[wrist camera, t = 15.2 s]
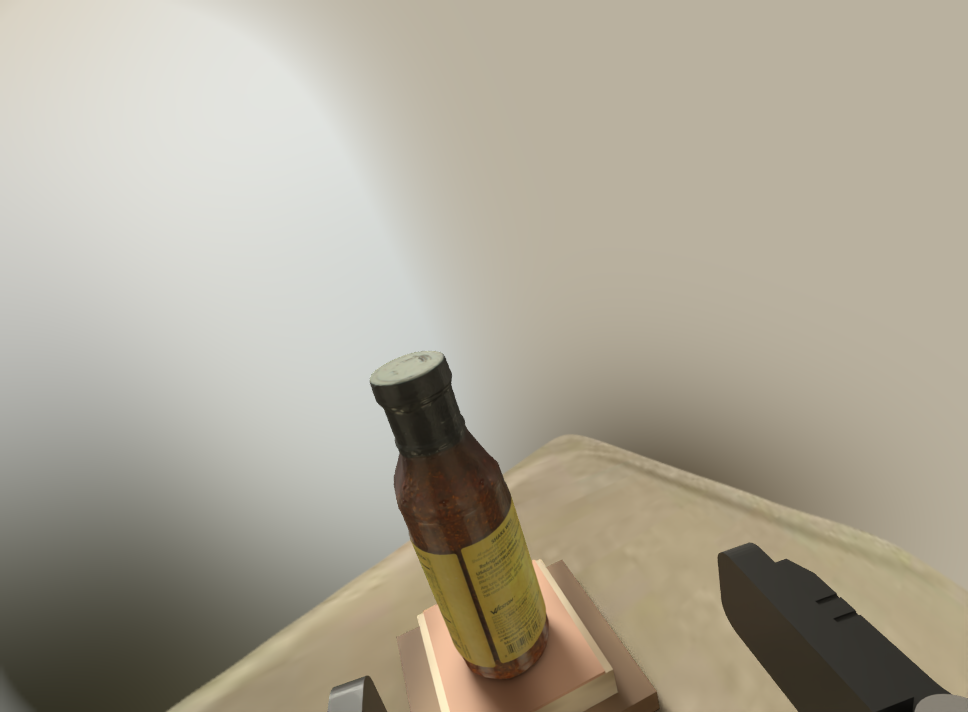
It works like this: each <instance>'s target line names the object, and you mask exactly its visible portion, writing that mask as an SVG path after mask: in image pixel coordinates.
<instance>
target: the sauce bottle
mask: <svg viewBox="0 0 968 712" xmlns="http://www.w3.org/2000/svg"><path fill="white" fill-rule="evenodd" d="M451 379H452V373H451V371H450V369H449V365H448V363H447V361H446V358H445V356H444V355H443V354H442V353H441V352H436V351H421V352H414V353H411V354H407V355H404V356H402V357H399V358H397V359H394V360H392V361H390V362H389V363H386V364H385V365H383V366H381V367H380V368H379V369H377V370H375V372H374V373H373V374H372V375H371V377H370V384H371V387H372V391H373V394H374V396H375V399H376V401H377V403H378V404H379V405H380V406H382V407H383V409H384V410H385V413H386V415H387V418H388V421H389V423H390V426H391V429H392V432H393V434H394V436H395V443H396V446H397V448H398V449H399V452H400V454H399V458H398V462H397V466H396V470H395V475H394V488H395V494H396V499H397V504H398V507H399V509H400V511H401V513H402V515H403V517H404V520H405V522H406V525H407V527H408V530H409V536H410V540H411V542H412V544H413V547H414V549H415V551H416V554H417V556H418V558H419V561H420V563H421V566H422V568H423V571H424V573H425V575H426V578H427V580H428V583H429V585H430V588H431V590H432V592H433V595H434V597H435V599H436V602H437V604H438V607H439V609H440V612H441V614H442V617H443V619H444V622H445V624H446V626H447V629H448V631H449V634H450V636H451V639H452V642H453V644H454V646H455V648H456V649H457V651H458V652H459V653H460V655H461V656H462V657H463V659H464V661H465V662H466V664H467V666H468V668H469V669H470V670H471V671H472V672H474V673H475V674H477V675H480V676H482V677H485V678H492V679H503V680H505V679H511V678H513V677H517V676H518V675H521V674H522V673H524V672H526V671H527V670H528V669H529V668H530V667H532V666H533V665H534V664H536V663H537V661H538V660H539V658H540V657H541V656H542V655H543V652H544V650H545V648H546V646H547V641H548V636H549V620H548V617H547V614H546V606H545V602H544V599H543V596H542V592H541V589H540V586H539V583H538V579H537V576H536V573H535V570H534V567H533V564H532V561H531V558H530V555H529V551H528V548H527V545H526V542H525V538H524V535H523V532H522V529H521V526H520V522H519V519H518V516H517V513H516V510H515V507H514V503H513V500H512V497H511V494H510V491H509V489H508V487H507V484H506V482H505V481H504V478H503V475H502V473H501V470H500V467H499V465H498V462H497V461H496V460H494V459H493V457H491V456H490V455H489V454H488V453H487V452H486V451H485V449H484V448H483V447H482V446H481V445H480V444H479V443H478V441H476V439H475V438H474V437H473V435H472V434H471V433H470V432H469V431H468V429H467V427H466V426H465V420H464V418H463V416H462V415H461V414H460V411H459V407H458V405H457V402H456V399H455V395H454V392H453V390H452V386H451Z"/></svg>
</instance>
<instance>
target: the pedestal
mask: <svg viewBox="0 0 968 712" xmlns="http://www.w3.org/2000/svg"><path fill="white" fill-rule="evenodd" d="M532 564H533V567H534V570H535V573H536V576H537V579H538V583H539V586H540V589H541V592H542V596H543V599H544V602H545V606H546V614H547V617H548V620H549V636H548V641H547V646H546V648H545V650H544V652H543V655H542V656H541V657H540V658H539V660H538V661H537V663H536V664H534V665H533V666H532V667H530V668H529V669H528V670H527V671H526V672H524V673H522V674H521V675H518V676H517V677H513V678H511V679H505V680H503V679H492V678H485V677H482V676H480V675H477V674H475V673H474V672H472V671H471V670H470V669H469V668H468V666H467V664H466V662H465V661H464V659H463V657H462V656H461V655H460V653H459V652H458V651H457V649H456V648H455V646H454V644H453V642H452V639H451V636H450V634H449V631H448V629H447V626H446V624H445V622H444V619H443V617H442V614H441V612H440V609H439V607H438V604H437V605H434V606H432V607H430V608H428V609H426V610H424V611H423V613H422V614H420V615H418V616H417V618H418V622H419V627H417V628H415V629H413V630H411V631H409V632H406V633H404V634H402V635H400V636H398V637H396V638H397V643H398V649H399V654H400V659H401V664H402V670H403V675H404V680H405V685H406V691H407V696H408V701H409V706H410V712H654V711H656V710H658V709H659V702H658V696H657V691H656V690H655V688H654V687H653V686H652V684H651V683H650V681H649V680H648V679H647V677H646V676H645V674H644V673H643V672H642V670H641V669H640V667H639V666H638V665H637V663H636V662H635V660H634V659H633V658H632V656H631V655H630V654H629V652H628V651H627V649H626V648H625V647H624V645H623V644H622V642H621V641H620V640H619V638H618V637H617V635H616V634H615V633H614V631H613V630H612V628H611V627H610V626H609V624H608V623H607V621H606V620H605V619H604V617H603V616H602V615H601V613H600V612H599V610H598V609H597V608H596V606H595V605H594V603H593V602H592V601H591V599H590V598H589V596H588V595H587V594H586V592H585V591H584V589H583V588H582V587H581V585H580V584H579V582H578V581H577V580H576V578H575V577H574V576H573V574H572V573H571V571H570V570H569V569H568V567H567V566H566V564H565V563H564V562H563V560H560V561H558V562H556V563H554V564H552V565H550V566H548V567H546V566H545V565H544V563H543V562H542V560H541V559H539V560H537V561H535V560H532Z"/></svg>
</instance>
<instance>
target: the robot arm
mask: <svg viewBox="0 0 968 712" xmlns="http://www.w3.org/2000/svg"><path fill="white" fill-rule="evenodd" d="M718 569H719V579H720V590H721V600H722V605H723V608H724V611H725V614H726V616H727V618H728V620H729V622H730V624H731V625H732V627H733V628H734V630H735V631H736V633H737V634H738V635H739V637H740V638H741V639H742V640H743V642H744V643H745V644H746V645H747V647H748V648H749V649H750V651H751V652H752V653H753V654H754V656H755V657H756V658H757V660H758V661H759V662H760V663H761V665H762V666H763V667H764V668H765V670H766V671H767V672H768V674H769V675H770V676H771V677H772V679H773V680H774V681H775V682H776V684H777V685H778V686H779V688H780V689H781V690H782V691H783V693H784V694H785V695H786V696H787V698H788V699H789V700H790V702H791V703H792V704H793V705H794V707H795V708H796V709H797V711H798V712H968V698H964V697H961V696H957V695H952V694H951V693H949V692H948V691H946V690H945V689H943V688H942V687H941V686H939V685H938V684H937V683H936V682H935V681H933V680H932V679H931V678H930V677H929V676H928V675H927V674H926V673H925V672H923V671H922V670H921V669H920V668H919V667H918V666H917V665H916V664H915V663H913V662H912V661H911V660H910V659H909V658H908V657H907V656H906V655H905V654H903V653H902V652H901V651H900V650H899V649H898V648H897V647H896V646H895V645H893V644H892V643H891V642H890V641H889V640H888V639H887V638H886V637H885V636H883V635H882V634H881V633H880V632H879V631H878V630H877V629H876V628H875V627H873V626H872V625H871V624H870V623H869V622H868V621H867V620H866V619H865V618H863V617H862V616H861V615H858V614H857V613H856V611H855V609H853V608H852V607H851V606H850V605H849V604H848V603H847V602H846V601H845V600H843V599H842V598H841V597H840V598H839V597H838V596H837V594H836V592H835V591H833V590H832V589H831V588H830V587H829V586H828V585H827V584H826V583H825V582H823V581H822V580H821V579H820V578H819V577H818V576H817V575H816V574H815V573H813V572H811V571H809V570H807V569H805V568H803V567H801V566H799V565H797V564H795V563H794V562H792V561H790V560H788V559H784V560H781V561H778V562H776V563H775V562H774V561H773V560H772V559H771V558H770V557H769V556H768V555H767V554H766V553H765V552H764V551H763V550H762V549H761V548H759V547H758V546H757V545H755V544H754V543H747V544H744V545H741V546H738V547H735V548H732V549H730V550H727V551H724V552H721V553H719V554H718ZM327 712H387V710H386V708H385V706H384V704H383V702H382V700H381V698H380V696H379V694H378V692H377V689H376V687H375V685H374V683H373V681H372V679H371V678H370V676H364V677H362V678H359V679H356V680H353V681H350V682H347V683H344V684H342V685H339V686H336V687H334V688H332V690H331V692H330V696H329V703H328V711H327Z"/></svg>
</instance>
